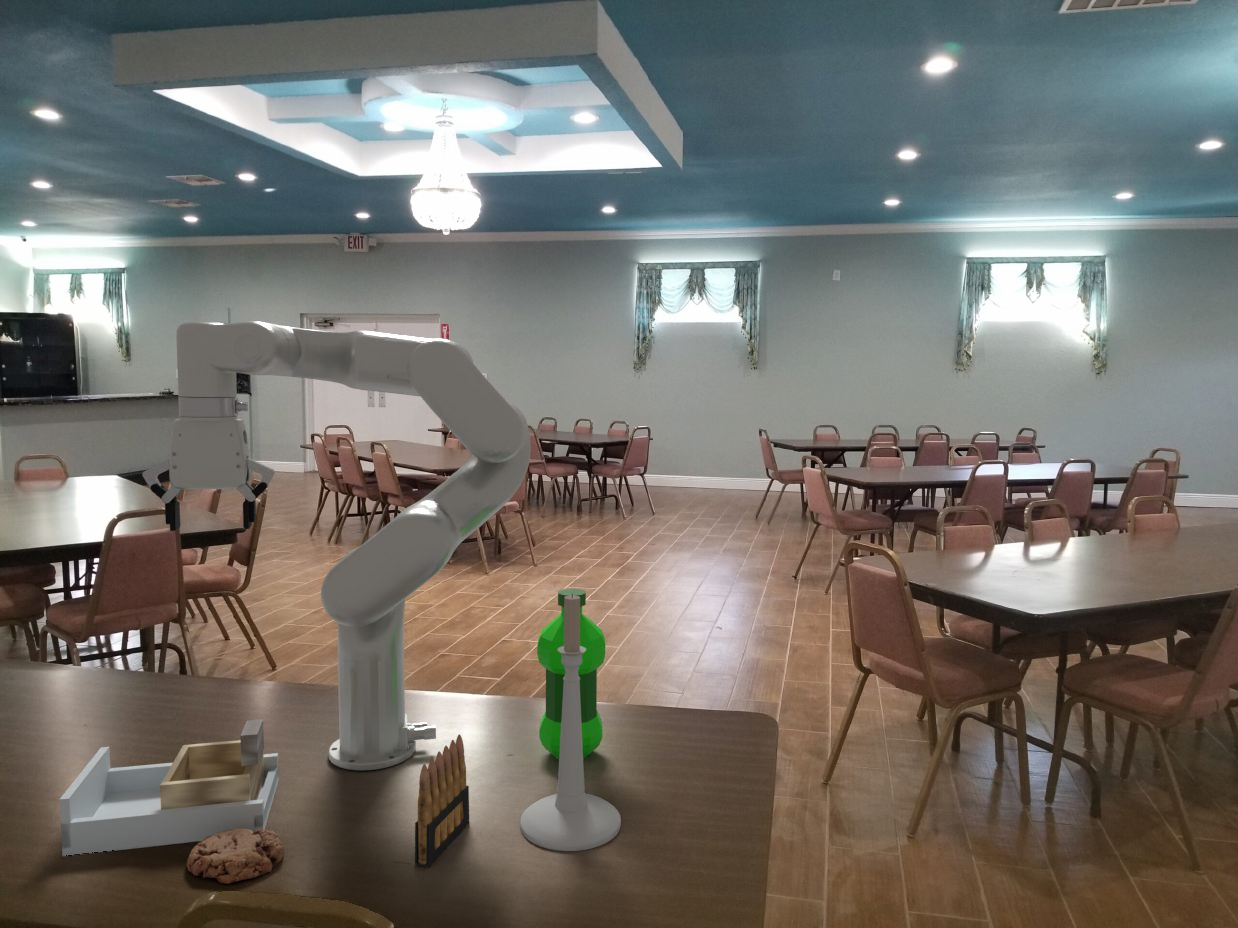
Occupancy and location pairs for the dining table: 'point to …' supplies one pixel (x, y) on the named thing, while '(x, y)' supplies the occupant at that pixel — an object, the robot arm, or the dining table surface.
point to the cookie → (236, 855)
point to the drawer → (216, 771)
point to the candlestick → (571, 768)
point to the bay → (148, 809)
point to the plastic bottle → (555, 673)
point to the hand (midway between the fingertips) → (211, 528)
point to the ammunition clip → (441, 804)
